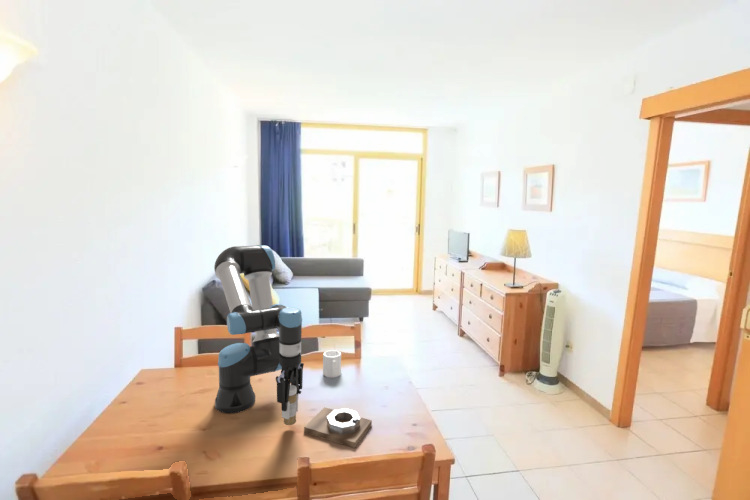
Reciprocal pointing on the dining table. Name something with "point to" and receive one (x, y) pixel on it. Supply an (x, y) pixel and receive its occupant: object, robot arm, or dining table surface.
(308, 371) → the dining table surface
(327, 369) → the mug
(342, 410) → the ring
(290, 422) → the sprinkles bottle
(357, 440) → the block
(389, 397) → the dining table surface
